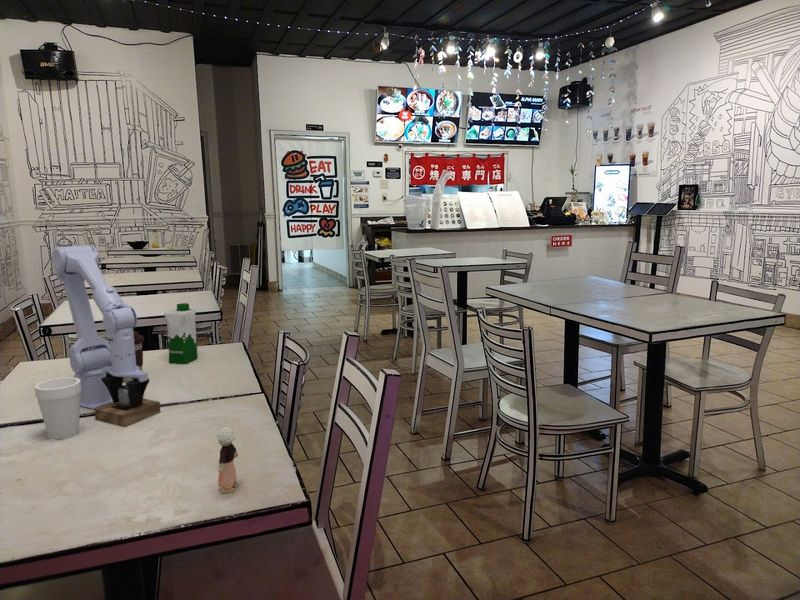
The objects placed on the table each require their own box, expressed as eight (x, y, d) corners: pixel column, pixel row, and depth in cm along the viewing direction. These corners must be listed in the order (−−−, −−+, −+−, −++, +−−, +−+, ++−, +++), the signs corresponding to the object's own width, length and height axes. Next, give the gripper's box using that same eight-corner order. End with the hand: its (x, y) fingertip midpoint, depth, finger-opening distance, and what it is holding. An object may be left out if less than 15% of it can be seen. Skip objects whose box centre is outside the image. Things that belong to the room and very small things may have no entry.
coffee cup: (153, 377, 182) (149, 331, 179) (124, 385, 174) (120, 338, 171) (135, 372, 187) (131, 328, 185) (106, 380, 179) (101, 334, 176)
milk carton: (201, 358, 204) (197, 303, 200) (188, 365, 195) (184, 308, 191) (178, 357, 205) (175, 302, 202) (164, 364, 196) (160, 307, 193)
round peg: (117, 417, 149) (114, 388, 147) (129, 412, 152) (127, 383, 151) (128, 419, 147) (125, 390, 146) (140, 414, 151) (138, 385, 149)
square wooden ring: (95, 419, 147) (94, 408, 147) (131, 406, 157) (130, 395, 156) (125, 427, 143) (124, 415, 142) (160, 412, 152) (159, 401, 152)
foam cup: (94, 429, 141) (89, 379, 139) (61, 445, 132) (55, 391, 130) (65, 425, 144) (60, 375, 142) (31, 439, 135) (25, 387, 133)
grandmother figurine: (222, 480, 116) (219, 421, 114) (241, 479, 116) (238, 420, 114) (213, 499, 108) (209, 437, 106) (234, 498, 109) (230, 436, 106)
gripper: (155, 353, 147) (159, 403, 150) (117, 346, 153) (121, 394, 156) (132, 360, 141) (137, 412, 143) (93, 353, 147) (98, 403, 150)
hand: (127, 403), depth 149 cm, fingers open, 7 cm apart
